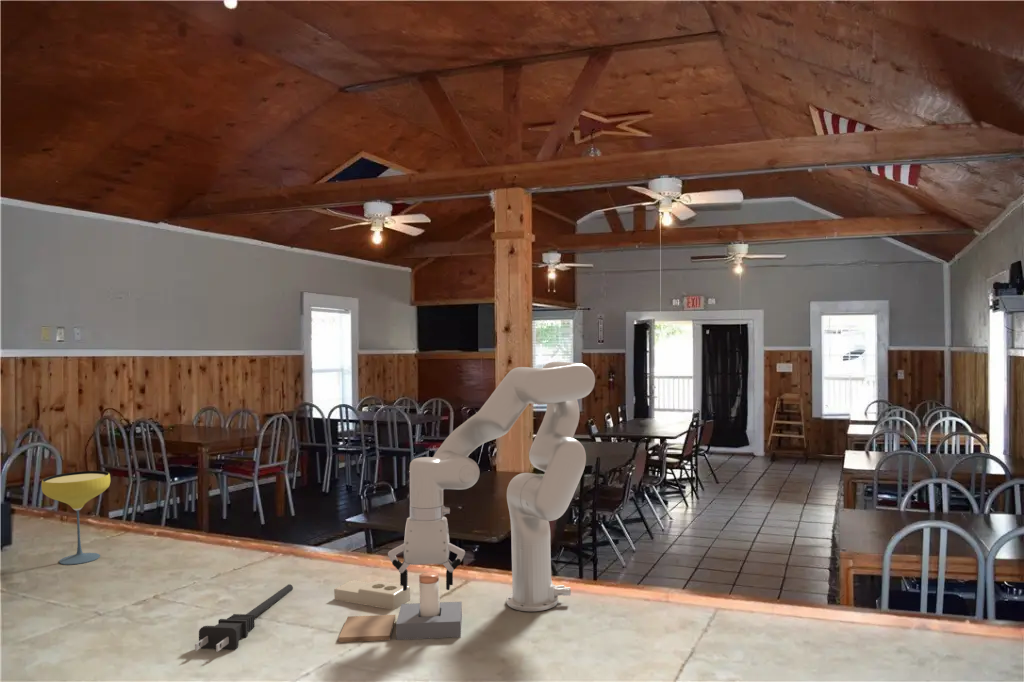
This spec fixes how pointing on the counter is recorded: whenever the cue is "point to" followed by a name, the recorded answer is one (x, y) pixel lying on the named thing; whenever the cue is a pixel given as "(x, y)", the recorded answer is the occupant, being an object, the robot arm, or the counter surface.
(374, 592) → the electrical outlet
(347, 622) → the board
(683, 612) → the counter surface
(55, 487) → the cocktail glass
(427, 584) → the plug
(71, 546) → the counter surface
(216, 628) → the electrical plug
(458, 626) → the socket block
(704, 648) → the counter surface
